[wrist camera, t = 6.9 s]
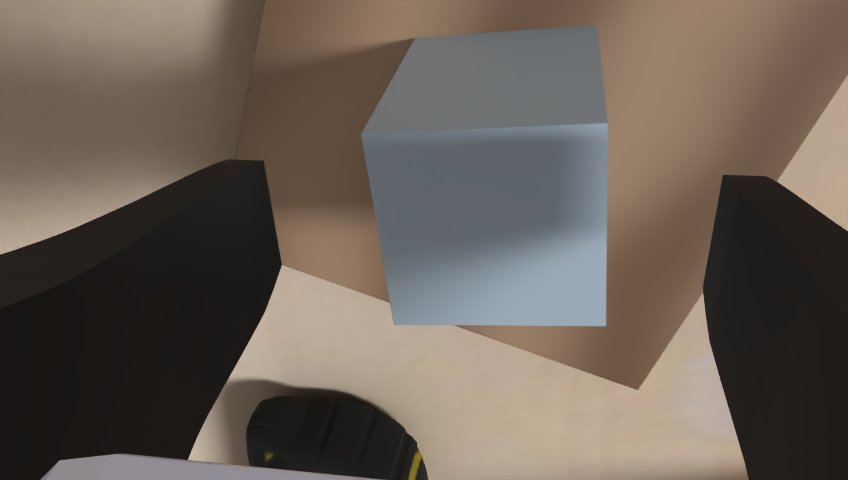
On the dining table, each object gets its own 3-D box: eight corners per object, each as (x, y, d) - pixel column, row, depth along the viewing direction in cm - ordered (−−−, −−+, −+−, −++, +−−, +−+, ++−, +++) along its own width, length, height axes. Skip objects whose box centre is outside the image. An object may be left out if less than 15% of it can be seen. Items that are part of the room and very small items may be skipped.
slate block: (597, 25, 18) (607, 122, 13) (596, 190, 21) (605, 325, 16) (415, 37, 19) (361, 133, 14) (434, 194, 22) (393, 324, 17)
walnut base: (895, -64, 18) (928, -47, 16) (633, 349, 26) (637, 390, 24) (340, -272, 18) (317, -275, 16) (242, 211, 25) (219, 242, 24)
